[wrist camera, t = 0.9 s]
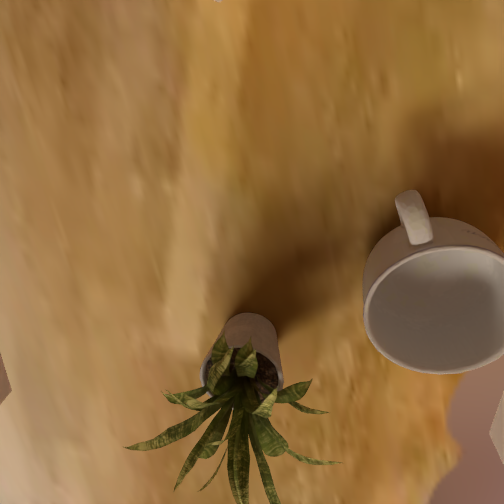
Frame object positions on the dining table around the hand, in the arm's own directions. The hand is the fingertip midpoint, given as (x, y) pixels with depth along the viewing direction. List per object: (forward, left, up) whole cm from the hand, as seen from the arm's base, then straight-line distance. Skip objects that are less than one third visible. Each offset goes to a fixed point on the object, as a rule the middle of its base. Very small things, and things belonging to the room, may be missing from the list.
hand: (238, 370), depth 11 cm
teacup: (+12, +7, -26) cm, 29 cm away
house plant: (+16, -9, -26) cm, 31 cm away
